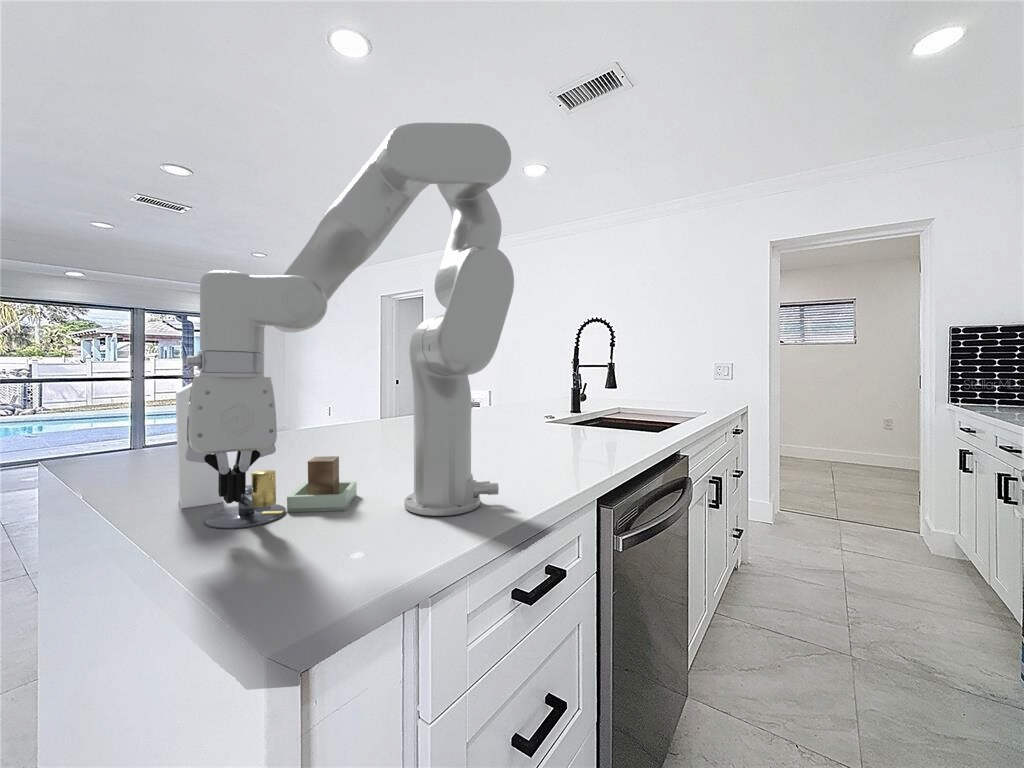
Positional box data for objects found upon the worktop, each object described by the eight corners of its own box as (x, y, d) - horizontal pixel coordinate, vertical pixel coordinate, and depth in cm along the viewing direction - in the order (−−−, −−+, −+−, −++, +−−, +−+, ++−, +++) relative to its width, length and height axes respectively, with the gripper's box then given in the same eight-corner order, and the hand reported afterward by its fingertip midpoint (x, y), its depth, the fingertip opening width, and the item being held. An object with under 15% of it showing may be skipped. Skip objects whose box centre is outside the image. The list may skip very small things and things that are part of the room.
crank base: (295, 504, 82) (295, 488, 81) (270, 527, 71) (270, 509, 71) (225, 506, 80) (225, 490, 80) (189, 530, 69) (189, 511, 69)
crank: (228, 496, 75) (227, 461, 75) (256, 492, 78) (255, 458, 78) (251, 516, 66) (251, 476, 66) (282, 510, 69) (282, 472, 69)
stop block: (339, 496, 85) (338, 456, 84) (333, 502, 81) (332, 461, 80) (315, 496, 84) (314, 456, 84) (308, 503, 80) (307, 461, 80)
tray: (356, 495, 88) (356, 481, 87) (345, 510, 79) (345, 495, 79) (304, 496, 87) (304, 482, 86) (287, 512, 78) (286, 496, 77)
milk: (180, 509, 79) (175, 373, 78) (178, 500, 84) (173, 372, 82) (224, 502, 83) (219, 372, 81) (219, 494, 87) (215, 371, 86)
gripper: (168, 365, 58) (168, 517, 59) (299, 367, 68) (298, 498, 68) (161, 363, 63) (161, 503, 64) (283, 366, 73) (282, 487, 74)
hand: (232, 500), depth 66 cm, fingers closed
